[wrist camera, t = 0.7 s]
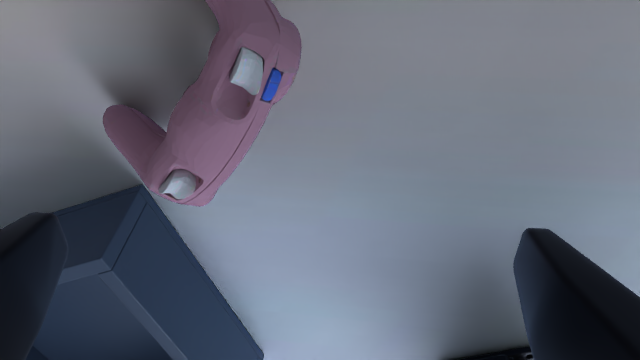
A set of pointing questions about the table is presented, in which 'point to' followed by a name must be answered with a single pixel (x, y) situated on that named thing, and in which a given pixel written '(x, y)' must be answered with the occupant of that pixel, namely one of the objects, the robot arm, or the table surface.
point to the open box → (135, 291)
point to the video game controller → (214, 105)
